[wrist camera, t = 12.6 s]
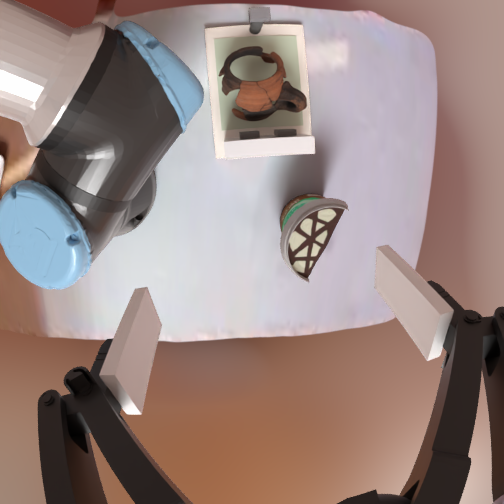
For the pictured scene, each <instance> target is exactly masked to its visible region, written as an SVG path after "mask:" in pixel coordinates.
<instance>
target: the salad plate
mask: <svg viewBox="0 0 504 504" xmlns="http://www.w3.org/2000/svg"><path fill="white" fill-rule="evenodd" d="M4 164H5V161H4V158H3V156H2V155H0V186H1V180H2V175H3V171H4Z"/></svg>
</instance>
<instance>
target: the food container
mask: <svg viewBox="0 0 504 504" xmlns="http://www.w3.org/2000/svg"><path fill="white" fill-rule="evenodd" d="M347 208H348V206H347V204H346V202H344V201H341V200H338V199H333V198H325V197H323V196H320V195H318V194H304V195H300V196H297V197H296V198H294V199H293V200H291V201H290V202H289V203H288V204H287V205H286V206H285V208H284V209H283V211H282V214H281V218H280V227H281V232H282V235H281V242H280V247H281V254H282V257H283V259H284V261H285V263H286V265H287V266H288V268H289V269H290V270H291V271H292V272H293V273H294V274H295V275H296V276H297V277H299V278H300V279H302V280H304V281H306V282H309V279H308V277H309V275H310V273H311V271H312V269H313V267H314V265H315V264H316V262H317V260H318V259H319V257H320V256H321V254H322V253H323V251H324V249H325V248H326V246H327V244H328V242H329V240H330V238H331V235H332V233H333V231H334V229H335V227H336V225H337V223H338V221H339V219H340V217H341V216H342V214H343V212H344V210H345V209H346V210H348V209H347ZM348 211H349V210H348Z"/></svg>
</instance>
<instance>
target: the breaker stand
mask: <svg viewBox="0 0 504 504" xmlns="http://www.w3.org/2000/svg"><path fill="white" fill-rule="evenodd" d="M249 28H250V25H239V26H225V27H215V28H206V29H205V40H206V53H207V66H208V78H209V90H210V101H211V112H212V123H213V133H214V143H215V153H216V159H218V158H225V160H228V159H239V158H250V157H263V156H278V155H295V154H315V138H314V136H311V116H310V100H309V86H308V74H307V62H306V51H305V41H304V32H303V25H293V24H263V26H262V28H261V31H260V33H258V34H252V33H250V31H249ZM249 46H260V47H262V48H263V51H262V52H264V53H268V54H270V53H271V52H275V53H277V54H278V55H279V56H280V58H281V59H282V61H283V64H284V68H285V71H286V76H287V77H286V78H283V80H284V81H283V83H284V82H285V81H289V83H290V84H291V86H292V87H294V88H296V89H298V90H300V91H301V92H302V93H304V95H305V96H306V99H307V107H306V109H304V110H302V111H301V112H298V113H295V112H290V111H287V110H277V111H276V112H274V113H273V114H272V115H271V116H269V117H268V118H266V119H263V120H260V121H246V120H242V119H240V118H238V117H236V116H235V115H234V114H233V112H232V109H233V108H235V109H237V110H239V111H241V112H243V111H242V107H239V106H238V105H237V104H236V102H235V100H236V98H237V95H238V92H239V91H240V89H237V90H233V91H231V92H229V94H228V95H227V96H226V95H225V94H224V93H223V92H222V78H223V77H224V75H222V76H220V77H219V76H218V75H219V73H220V70H221V69H222V67H223V66H224V62H225V60H226V58H227V57H228V56H229V55H230V54H231V53H232V52H234V51H237V50H238V49H241V48H244V47H249ZM230 70H231V72H232V74H233V75H234V76H236V77H237V78H239V79H241V80H245V81H256V82H257V81H261V80H265V79H267V78H269V77H271V76H272V75H274V74H275V72H276V70H277V65H276V63H274V64H272V63H266V62H264V61H263V59H262V58H261V57H260V56H253V55H248V56H243V57H240V58H238V59H236V60H234V61H233V62H232V64H231V66H230ZM275 102H276V101H272V103H273V104H274V103H275ZM274 129H296V131H297V136H275V135H274ZM256 130H257V131H259V132H260V138H247V139H240V138H239V132H244V131H256Z"/></svg>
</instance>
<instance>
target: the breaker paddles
mask: <svg viewBox="0 0 504 504" xmlns="http://www.w3.org/2000/svg"><path fill="white" fill-rule="evenodd" d="M274 135H275V136H297V131H296V129H274ZM239 138H240V139H247V138H260V132H259V131H257V130H256V131H244V132H239Z"/></svg>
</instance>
